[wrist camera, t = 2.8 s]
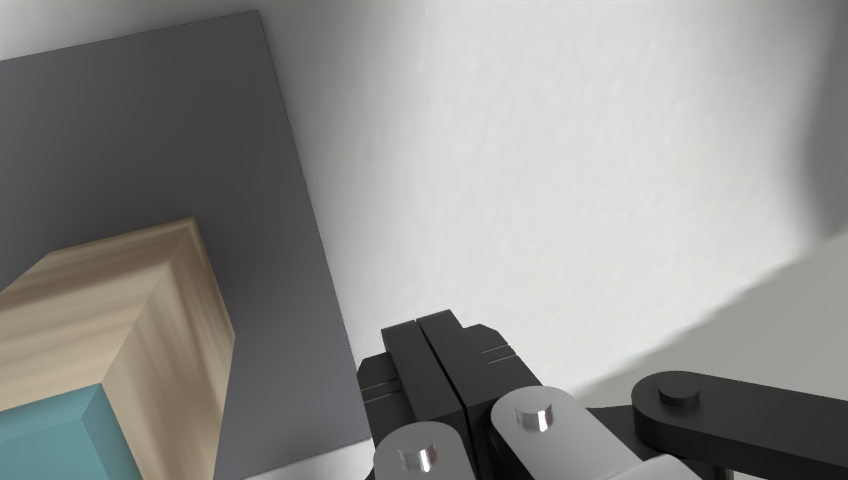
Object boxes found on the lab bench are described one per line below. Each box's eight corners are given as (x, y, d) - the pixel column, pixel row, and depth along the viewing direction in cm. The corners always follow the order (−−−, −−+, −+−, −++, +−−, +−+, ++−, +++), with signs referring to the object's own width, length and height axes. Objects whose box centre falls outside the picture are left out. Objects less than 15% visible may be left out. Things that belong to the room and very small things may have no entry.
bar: (49, 252, 19) (-288, 526, 8) (194, 216, 19) (80, 417, 8) (103, 373, 20) (-116, 755, 9) (235, 335, 21) (186, 646, 10)
